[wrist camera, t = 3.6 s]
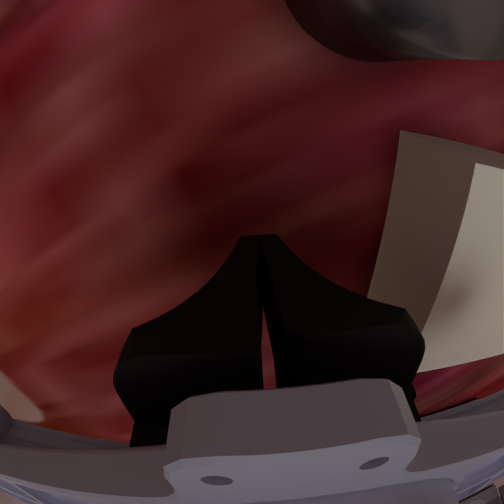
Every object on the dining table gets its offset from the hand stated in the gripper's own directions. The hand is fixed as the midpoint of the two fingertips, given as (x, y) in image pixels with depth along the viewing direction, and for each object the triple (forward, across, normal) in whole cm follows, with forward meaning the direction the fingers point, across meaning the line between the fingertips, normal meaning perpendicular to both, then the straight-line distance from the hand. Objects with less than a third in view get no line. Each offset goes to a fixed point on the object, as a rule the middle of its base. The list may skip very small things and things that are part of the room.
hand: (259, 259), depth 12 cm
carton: (+2, -10, 0) cm, 11 cm away
